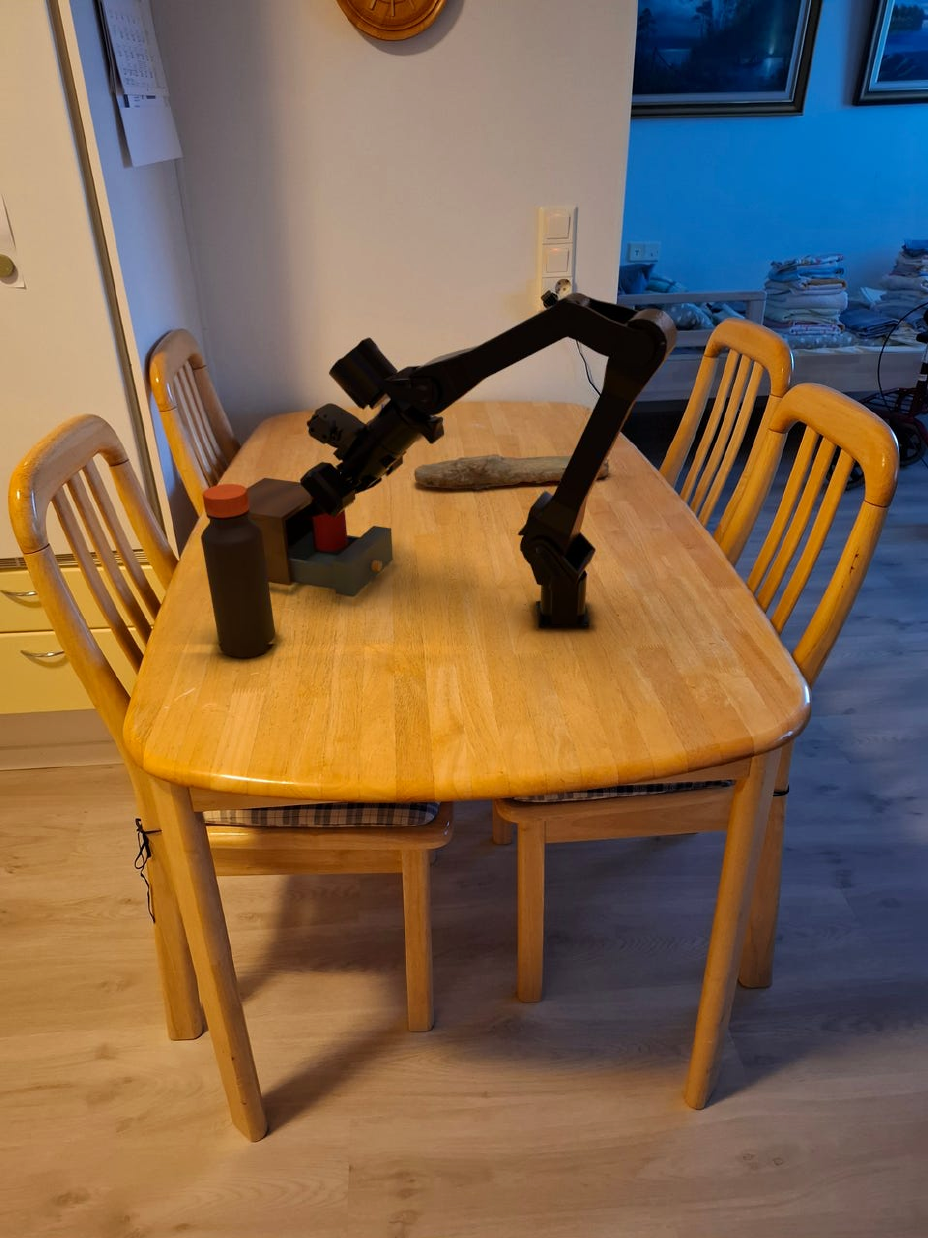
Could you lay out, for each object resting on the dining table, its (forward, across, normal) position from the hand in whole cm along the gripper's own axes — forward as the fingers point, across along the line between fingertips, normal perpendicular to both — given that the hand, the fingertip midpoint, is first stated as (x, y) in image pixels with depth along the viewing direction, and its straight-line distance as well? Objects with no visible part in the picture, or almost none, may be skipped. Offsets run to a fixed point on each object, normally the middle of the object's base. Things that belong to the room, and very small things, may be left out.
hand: (319, 507), depth 121 cm
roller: (+3, 0, +5) cm, 6 cm away
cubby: (+12, 0, +2) cm, 12 cm away
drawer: (+6, 0, +9) cm, 10 cm away
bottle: (+7, +20, +8) cm, 23 cm away
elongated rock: (-1, -45, +16) cm, 48 cm away
